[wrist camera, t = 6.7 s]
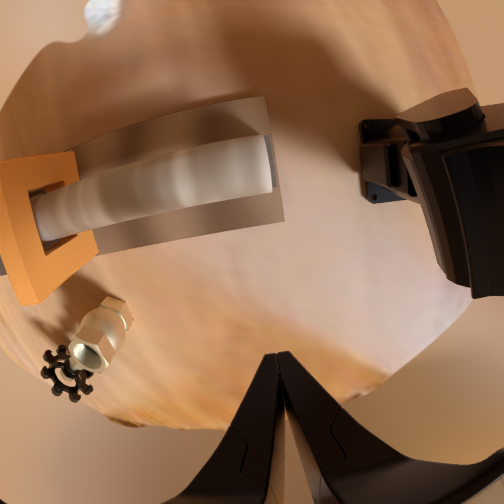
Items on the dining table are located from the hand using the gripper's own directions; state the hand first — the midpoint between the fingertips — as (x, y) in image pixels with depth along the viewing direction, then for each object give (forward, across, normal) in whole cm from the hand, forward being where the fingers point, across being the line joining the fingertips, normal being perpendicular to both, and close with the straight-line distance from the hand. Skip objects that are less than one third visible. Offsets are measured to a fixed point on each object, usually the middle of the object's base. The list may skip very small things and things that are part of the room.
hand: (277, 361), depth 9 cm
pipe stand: (+13, +8, -6) cm, 16 cm away
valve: (+13, +17, +7) cm, 23 cm away
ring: (+11, +13, -6) cm, 18 cm away
